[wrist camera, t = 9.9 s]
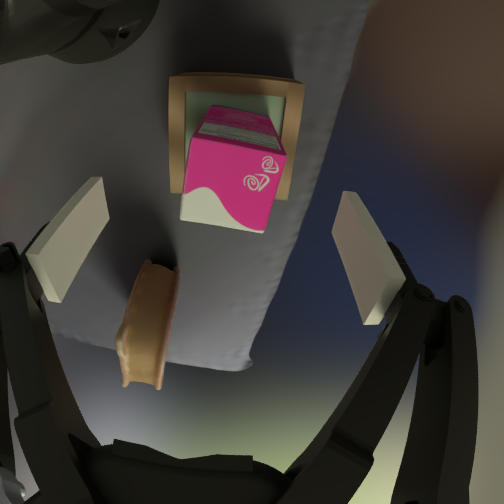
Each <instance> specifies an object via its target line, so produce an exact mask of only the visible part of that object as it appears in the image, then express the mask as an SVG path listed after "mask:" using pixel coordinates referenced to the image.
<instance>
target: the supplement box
mask: <svg viewBox="0 0 504 504" xmlns="http://www.w3.org/2000/svg"><path fill="white" fill-rule="evenodd" d="M286 160H287V154H286V152H285V150H284V147H283V145H282V143H281V141H280V138H279V136H278V134H277V132H276V130H275V127H274V125H273V123H272V121H271V119H270V117H269V116H265V115H261V114H256V113H252V112H248V111H243V110H238V109H233V108H228V107H222V106H216V105H211V106H210V108H209V110H208V111H207V113H206V114H205V116H204V117H203V119H202V121H201V122H200V124H199V125H198V127H197V128H196V130H195V132H194V133H193V135H192V137H191V139H190V143H189V148H188V154H187V160H186V166H185V173H184V181H183V190H182V199H181V207H180V220H185V221H192V222H199V223H206V224H212V225H218V226H224V227H229V228H235V229H240V230H246V231H251V232H257V233H263V232H264V230H265V227H266V224H267V221H268V218H269V214H270V211H271V208H272V205H273V202H274V198H275V195H276V192H277V188H278V185H279V182H280V179H281V176H282V172H283V169H284V166H285V163H286Z"/></svg>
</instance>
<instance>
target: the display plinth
mask: <svg viewBox="0 0 504 504" xmlns="http://www.w3.org/2000/svg"><path fill="white" fill-rule="evenodd" d="M305 86H306V85H305V84H303V83H301V82H299V81H297V80H295V79H289V78H281V77H273V76H264V75H253V74H239V73H217V72H184V73H180V74H176V75H173V76H169V167H170V189H171V193H182V190H183V181H184V173H185V166H186V160H187V154H188V148H189V143H190V139H191V137H192V135H193V133H194V132H195V130H196V128H197V127H198V125H199V124H200V122H201V121H202V119H203V117H204V116H205V114H206V113H207V111H208V110H209V108H210V106H211V105H216V106H222V107H228V108H233V109H238V110H243V111H248V112H252V113H256V114H261V115H265V116H269V117H270V119H271V121H272V123H273V125H274V127H275V130H276V132H277V134H278V136H279V138H280V141H281V143H282V145H283V147H284V150H285V152H286V154H287V160H286V163H285V166H284V169H283V172H282V176H281V179H280V182H279V185H278V188H277V192H276V195H275V198H274V199H278V200H287V199H288V193H289V187H290V181H291V175H292V169H293V163H294V157H295V151H296V145H297V139H298V132H299V126H300V119H301V113H302V106H303V100H304V93H305Z"/></svg>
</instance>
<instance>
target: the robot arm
mask: <svg viewBox="0 0 504 504" xmlns="http://www.w3.org/2000/svg"><path fill="white" fill-rule="evenodd" d="M158 4H159V0H0V65H1V64H5V63H8V62H12V61H17V60H21V59H25V58H30V57H35V56H40V55H45V54H48V55H50V56H52V57H55V58H57V59H59V60H62V61H64V62H68V63H74V64H85V63H92V62H98V61H102V60H105V59H108V58H110V57H113V56H115V55H117V54H118V53H120V52H122V51H123V50H125V49H126V48H127V47H129V46H130V45H131V44H132V43H133V42H135V41H136V40H137V39H138V38H139V37H140V35H141V34H142V33H143V32H144V31H145V29H146V28H147V27H148V25H149V24H150V22H151V20H152V19H153V17H154V15H155V12H156V10H157V7H158ZM109 219H110V218H109V213H108V208H107V203H106V198H105V192H104V186H103V180H102V177H90V178H89V179H88V180H87V181H86V182H85V184H84V185H83V186H82V187H81V188H80V189H79V190H78V191H77V192H76V193H75V194H74V195H73V196H72V197H71V198H70V200H69V201H68V202H67V203H66V204H65V205H64V206H63V207H62V209H61V210H60V211H59V212H58V213H57V214H56V215H55V217H54V218H53V219H52V220H51V221H50V222H48V223H47V224H45V225H44V226H43V227H42V228H41V229H40V230H39V231H38V232H37V234H36V235H35V236H34V238H33V239H32V241H30V243H29V244H28V245H27V247H26V248H25V249H24V251H23V252H22V253H21V255H20V256H19V254H18V251H17V249H16V247H15V245H14V243H12V242H7V243H4V244H2V245H0V504H348V502H349V501H350V500H351V498H352V497H353V495H354V494H355V492H356V491H357V489H358V488H359V486H360V485H361V483H362V482H363V480H364V479H365V477H366V476H367V474H368V472H369V471H370V469H371V467H372V465H373V462H374V458H373V452H374V450H375V448H376V446H377V445H378V443H379V441H380V439H381V437H382V436H383V434H384V432H385V430H386V428H387V426H388V424H389V422H390V420H391V418H392V416H393V414H394V412H395V410H396V408H397V406H398V404H399V401H400V399H401V397H402V395H403V393H404V390H405V388H406V386H407V383H408V381H409V379H410V376H411V374H412V371H413V369H414V366H415V363H416V361H417V358H418V355H419V353H420V358H419V368H418V378H417V386H416V393H415V399H414V406H413V412H412V417H411V423H410V428H409V432H408V437H407V442H406V446H405V450H404V454H403V458H402V462H401V465H400V469H399V473H398V476H397V479H396V483H395V486H394V490H393V494H392V498H391V504H469V484H470V479H471V473H472V466H473V461H474V453H475V445H476V435H477V421H478V362H477V348H476V338H475V328H474V321H473V314H472V309H471V306H470V305H469V303H468V302H467V301H466V300H465V299H464V298H462V297H461V296H458V295H453V296H451V297H450V299H449V300H448V302H444V301H441V300H437V299H435V297H434V294H433V293H432V291H431V290H430V289H429V288H427V287H426V286H424V285H422V284H418V283H417V281H416V279H415V277H414V275H413V273H412V271H411V270H410V268H409V266H408V264H406V263H407V262H406V261H405V259H404V258H403V255H402V254H401V252H400V250H399V249H398V248H397V247H396V246H395V245H394V244H393V243H392V242H387V241H385V239H384V237H383V235H382V234H381V232H380V231H379V229H378V227H377V225H376V224H375V222H374V220H373V219H372V217H371V215H370V214H369V212H368V211H367V209H366V207H365V206H364V204H363V202H362V201H361V199H360V198H359V196H358V195H357V193H356V192H348V191H343V194H342V198H341V201H340V205H339V208H338V212H337V215H336V219H335V222H334V226H333V229H332V235H333V238H334V240H335V243H336V245H337V248H338V251H339V254H340V256H341V259H342V262H343V265H344V267H345V270H346V273H347V276H348V279H349V282H350V284H351V287H352V290H353V293H354V296H355V299H356V303H357V306H358V309H359V312H360V315H361V318H362V321H363V324H364V325H371V324H379V323H380V321H381V319H382V318H383V317H384V315H385V318H386V321H387V324H386V325H385V326H384V328H383V329H382V331H381V332H380V334H379V335H378V337H377V338H378V340H377V341H376V343H375V345H374V347H373V349H372V351H371V352H370V354H369V356H368V358H367V360H366V361H365V363H364V365H363V366H362V368H361V370H360V371H359V374H358V375H357V376H356V378H355V380H354V381H353V383H352V384H351V386H350V388H349V389H348V391H347V392H346V394H345V395H344V397H343V398H342V400H341V401H340V403H339V404H338V406H337V408H336V409H335V410H334V412H333V413H332V415H331V416H330V418H329V419H328V421H327V422H326V423H325V425H324V426H323V427H322V429H321V430H320V432H319V433H318V434H317V435H316V437H315V438H314V439H313V441H312V442H311V443H310V445H309V446H308V447H307V448H306V450H305V451H304V452H303V453H302V454H301V455H300V456H299V457H298V458H297V459H296V460H295V461H294V462H293V463H292V465H291V466H290V467H289V468H288V469H287V470H286V471H285V473H284V474H283V473H281V472H280V471H278V470H277V469H275V468H273V467H271V466H269V465H266V464H264V463H261V462H258V461H254V460H253V456H250V455H248V456H247V455H244V456H243V455H219V454H216V455H210V456H204V457H197V458H188V459H177V458H175V457H172V456H169V455H167V454H164V453H162V452H159V451H157V450H155V449H152V448H150V447H148V446H145V445H140V444H135V443H131V442H126V441H122V440H118V439H114V442H113V444H111V445H104V446H101V444H100V443H99V441H98V440H97V438H96V437H95V436H94V435H93V433H92V432H91V431H90V429H89V428H88V426H87V424H86V422H85V420H84V418H83V416H82V414H81V412H80V410H79V407H78V405H77V403H76V401H75V398H74V396H73V394H72V391H71V389H70V386H69V384H68V381H67V379H66V376H65V374H64V371H63V368H62V365H61V363H60V360H59V357H58V354H57V351H56V348H55V345H54V341H53V338H52V335H51V331H50V327H49V324H48V320H47V316H46V312H45V308H44V304H43V302H42V300H41V298H40V297H41V296H42V294H43V292H44V293H45V295H46V297H47V299H48V301H53V302H58V303H61V302H62V300H63V298H64V296H65V294H66V292H67V290H68V288H69V286H70V285H71V283H72V281H73V279H74V277H75V275H76V273H77V272H78V270H79V268H80V266H81V265H82V263H83V261H84V259H85V258H86V256H87V254H88V253H89V251H90V249H91V248H92V246H93V244H94V243H95V241H96V239H97V238H98V236H99V235H100V233H101V231H102V230H103V228H104V227H105V225H106V224H107V222H108V220H109ZM7 369H8V370H7ZM7 372H9V376H10V381H11V385H12V390H13V393H14V397H15V401H16V405H17V408H18V413H19V415H18V417H17V418H15V419H14V426H15V430H16V433H17V436H18V439H19V442H20V445H21V448H22V450H23V453H24V455H25V458H26V461H27V463H28V465H29V468H30V470H31V472H32V474H33V477H34V479H35V481H36V483H37V485H38V488H39V491H38V492H37V493H35V494H34V495H33V496H32V497H30V498H29V499H28V500H26V501H24V500H23V497H24V496H25V492H26V491H25V488H24V486H23V484H22V483H20V482H19V481H18V480H17V479H16V476H15V474H16V473H15V472H16V471H15V458H14V450H13V443H12V436H11V428H10V418H9V405H8V377H7Z"/></svg>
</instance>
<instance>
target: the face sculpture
mask: <svg viewBox="0 0 504 504" xmlns="http://www.w3.org/2000/svg"><path fill="white" fill-rule="evenodd" d="M179 281H180V269H179V267H178V266H175V267H174V268H173V271H171V270H169V269H168V268H166V267H164V266H162V265H158V264H152V262H151V260H150V259H146V260H145V261H144V263H143V265H142V267H141V268H140V271H139V273H138V276H137V278H136V280H135V283H134V286H133V288H132V291H131V294H130V297H129V300H128V304H127V307H126V311H125V314H124V318H123V322H122V324H121V326H120V328H119V330H118V332H117V335H116V338H115V344H116V350H117V354H118V355H119V359H120V366H121V371H122V376H123V379H122V382H121V383H122V386H123V387H126V386H127V385H128V384H129V382H130V381H139V382H144V383H149V384H152V385H154V386H155V388H156V389H157V390H160V389H161V387H162V383H163V375H164V366H165V360H166V353H167V349H168V343H169V337H170V332H171V327H172V322H173V317H174V312H175V307H176V302H177V296H178V289H179Z"/></svg>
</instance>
